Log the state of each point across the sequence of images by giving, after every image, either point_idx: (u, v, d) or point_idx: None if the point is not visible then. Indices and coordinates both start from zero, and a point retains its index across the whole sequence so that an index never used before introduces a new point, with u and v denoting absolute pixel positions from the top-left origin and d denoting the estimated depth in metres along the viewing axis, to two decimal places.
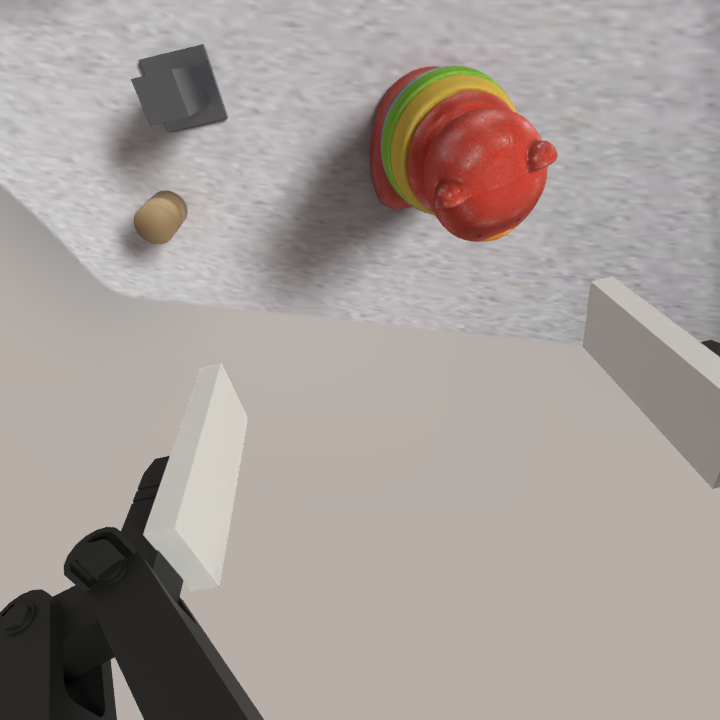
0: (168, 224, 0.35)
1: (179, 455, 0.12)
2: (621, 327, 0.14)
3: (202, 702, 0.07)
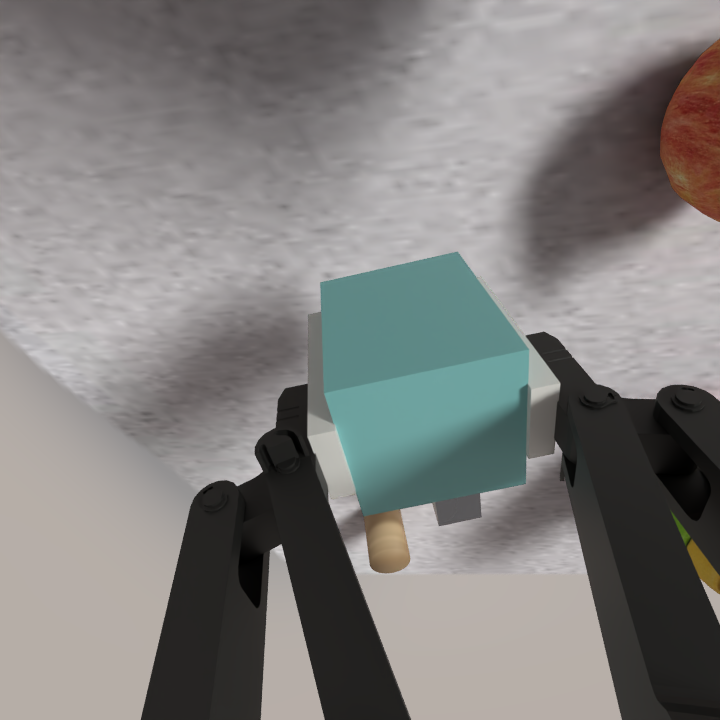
0: (404, 559, 0.33)
1: (317, 379, 0.13)
2: None
3: (342, 601, 0.08)
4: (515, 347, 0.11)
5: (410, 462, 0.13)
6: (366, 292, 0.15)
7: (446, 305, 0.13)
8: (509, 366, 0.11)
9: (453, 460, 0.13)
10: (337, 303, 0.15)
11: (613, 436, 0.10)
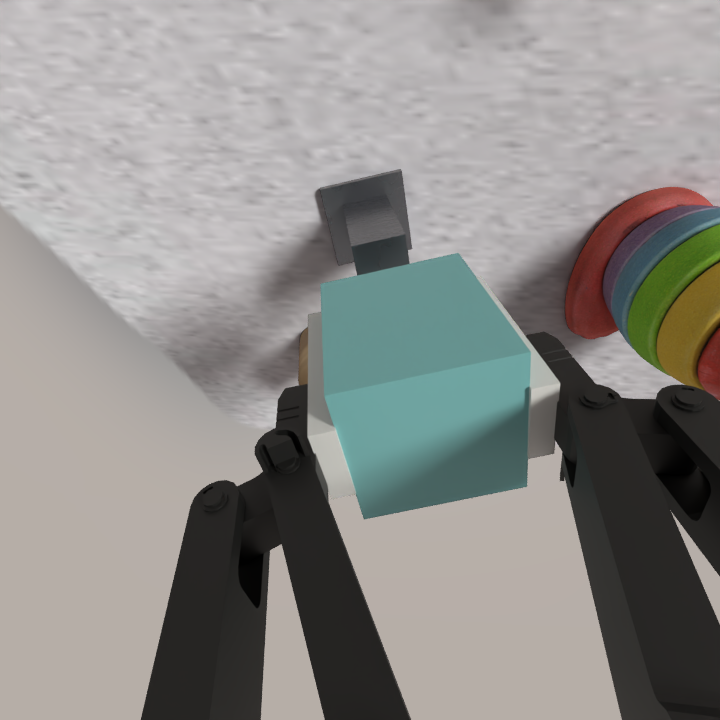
0: None
1: (317, 379, 0.13)
2: None
3: (341, 601, 0.08)
4: (517, 349, 0.11)
5: (411, 465, 0.13)
6: (366, 294, 0.15)
7: (447, 307, 0.13)
8: (511, 369, 0.11)
9: (454, 463, 0.13)
10: (337, 305, 0.15)
11: (613, 436, 0.10)
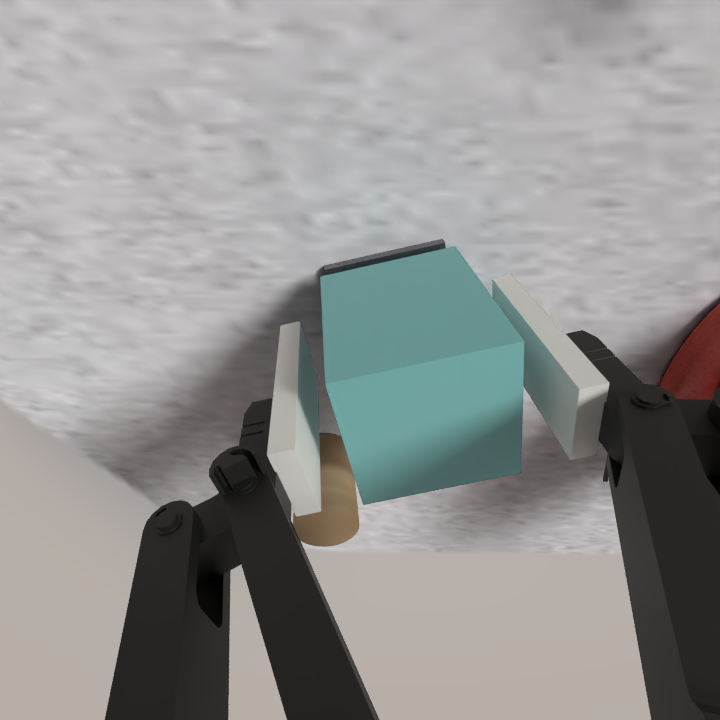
0: (350, 524, 0.20)
1: (282, 394, 0.13)
2: (512, 319, 0.15)
3: (306, 620, 0.08)
4: (511, 339, 0.11)
5: (409, 451, 0.13)
6: (365, 286, 0.15)
7: (444, 298, 0.14)
8: (505, 357, 0.12)
9: (450, 449, 0.13)
10: (337, 297, 0.15)
11: (665, 438, 0.10)
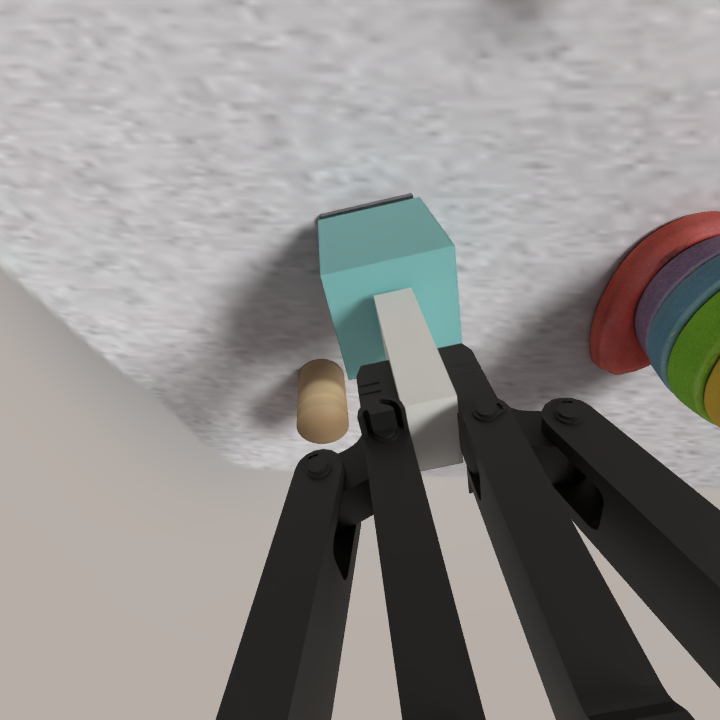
0: (341, 423, 0.26)
1: (398, 355, 0.14)
2: None
3: (425, 576, 0.08)
4: (446, 245, 0.17)
5: (380, 334, 0.19)
6: (351, 223, 0.21)
7: (406, 227, 0.19)
8: (442, 258, 0.17)
9: None
10: (330, 231, 0.21)
11: (507, 446, 0.10)
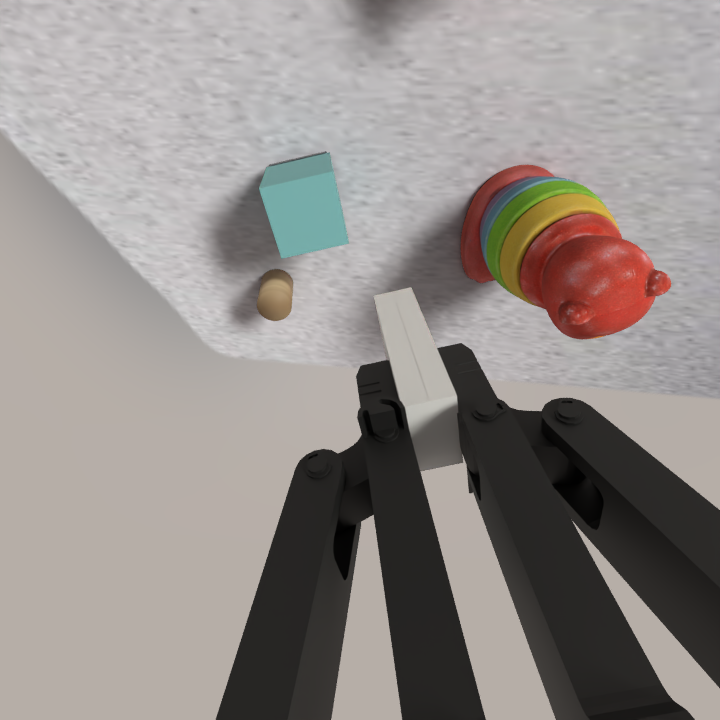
0: (286, 304, 0.39)
1: (398, 355, 0.14)
2: None
3: (425, 576, 0.08)
4: (329, 171, 0.30)
5: (297, 227, 0.32)
6: (284, 167, 0.34)
7: (313, 166, 0.33)
8: (327, 178, 0.30)
9: (314, 227, 0.32)
10: (271, 171, 0.34)
11: (507, 446, 0.10)
